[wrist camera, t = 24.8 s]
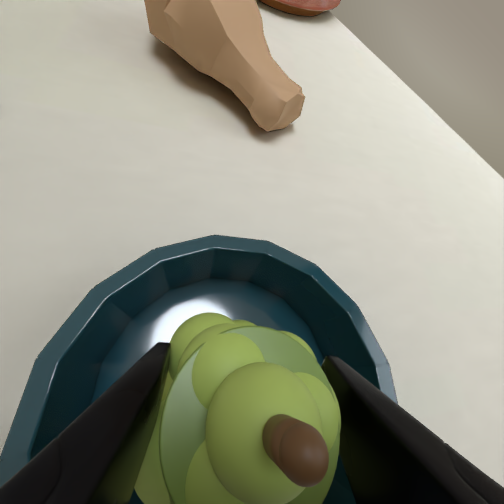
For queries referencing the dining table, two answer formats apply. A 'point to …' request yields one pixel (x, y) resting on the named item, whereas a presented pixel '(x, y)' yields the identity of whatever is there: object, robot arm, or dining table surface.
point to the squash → (229, 53)
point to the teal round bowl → (172, 316)
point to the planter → (303, 6)
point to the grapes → (241, 419)
